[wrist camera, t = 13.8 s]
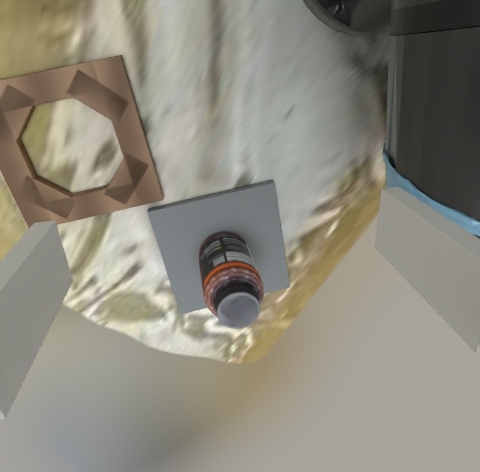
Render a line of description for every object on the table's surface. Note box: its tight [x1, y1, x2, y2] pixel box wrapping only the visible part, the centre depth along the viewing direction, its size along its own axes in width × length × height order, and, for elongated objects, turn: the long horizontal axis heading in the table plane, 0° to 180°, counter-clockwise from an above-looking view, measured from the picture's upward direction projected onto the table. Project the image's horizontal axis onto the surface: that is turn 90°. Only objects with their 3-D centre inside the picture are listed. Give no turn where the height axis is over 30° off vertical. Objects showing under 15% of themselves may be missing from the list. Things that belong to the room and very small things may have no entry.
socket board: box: [0, 55, 164, 228], centre depth 37 cm, size 14×14×1 cm
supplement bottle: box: [199, 232, 264, 329], centre depth 39 cm, size 6×6×11 cm
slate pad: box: [148, 180, 290, 314], centre depth 44 cm, size 14×14×1 cm
